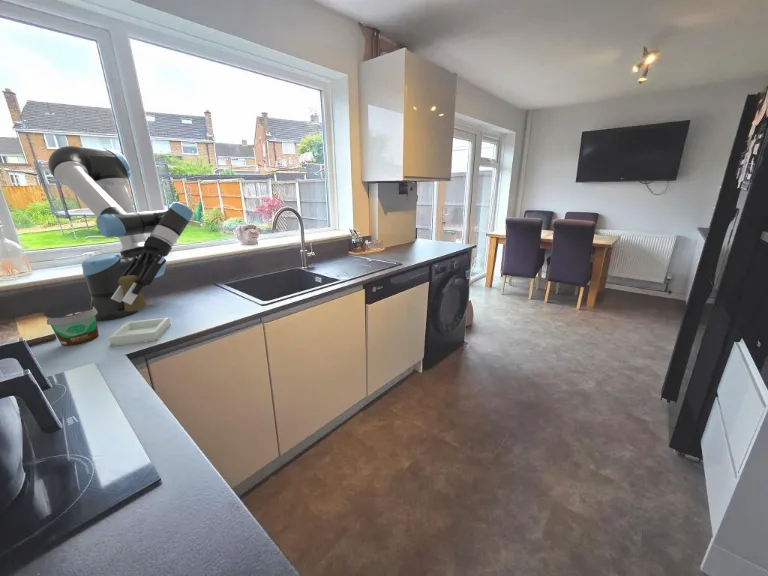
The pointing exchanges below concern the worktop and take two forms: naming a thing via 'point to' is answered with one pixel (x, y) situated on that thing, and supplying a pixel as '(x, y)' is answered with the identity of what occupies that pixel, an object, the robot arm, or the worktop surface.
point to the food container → (75, 327)
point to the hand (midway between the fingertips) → (121, 301)
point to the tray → (139, 331)
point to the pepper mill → (126, 284)
